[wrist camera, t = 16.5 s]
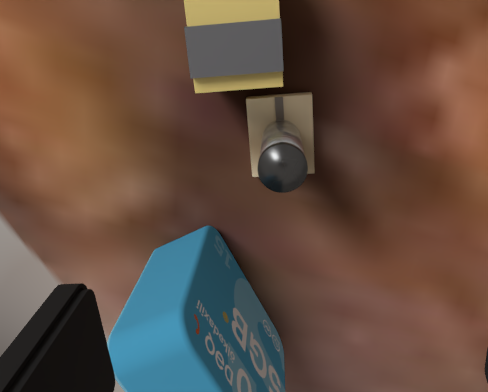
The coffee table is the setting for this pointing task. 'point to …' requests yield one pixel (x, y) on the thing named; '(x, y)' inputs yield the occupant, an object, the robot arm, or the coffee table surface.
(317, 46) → the coffee table surface
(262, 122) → the beige striped flat block
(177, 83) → the coffee table surface
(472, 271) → the coffee table surface
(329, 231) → the coffee table surface
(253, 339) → the data package
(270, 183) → the shiny grey cylinder
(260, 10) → the yellow and grey block
